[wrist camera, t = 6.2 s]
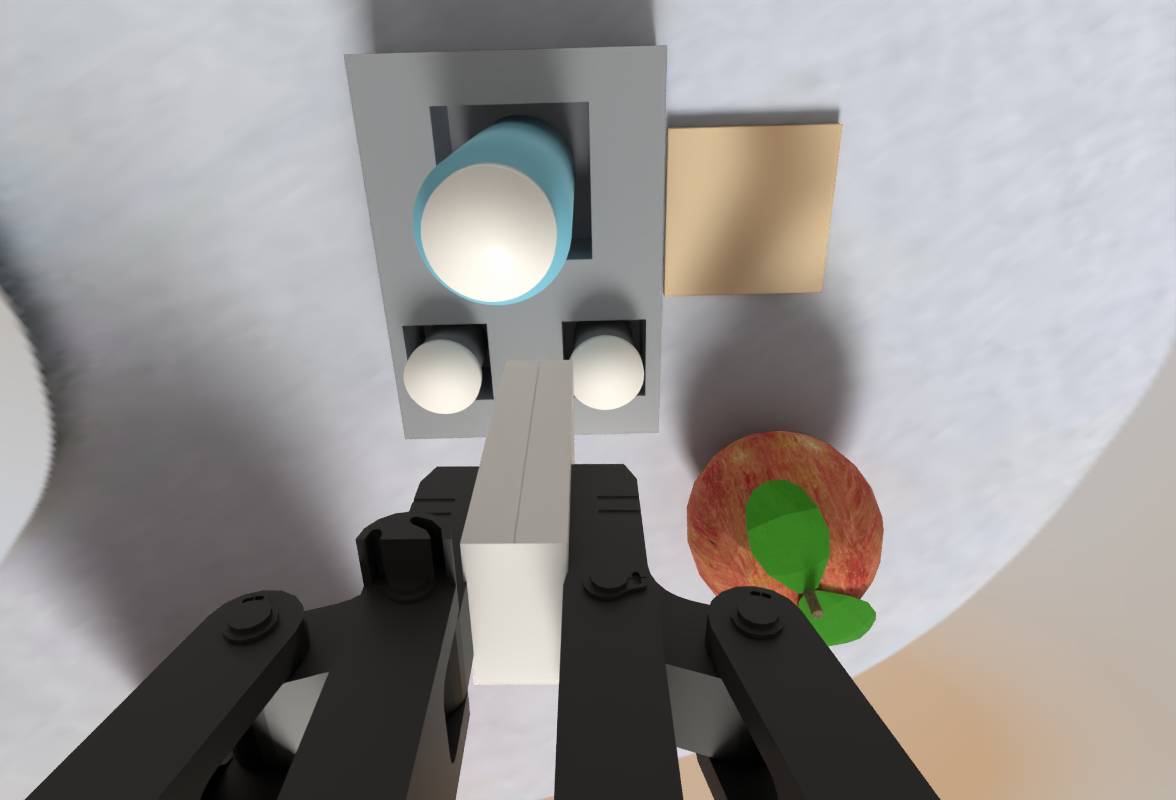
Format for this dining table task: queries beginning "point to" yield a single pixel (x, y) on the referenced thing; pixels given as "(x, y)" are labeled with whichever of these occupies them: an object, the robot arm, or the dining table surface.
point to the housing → (600, 212)
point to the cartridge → (499, 212)
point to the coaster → (748, 208)
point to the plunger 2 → (605, 364)
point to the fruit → (789, 528)
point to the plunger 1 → (447, 368)
